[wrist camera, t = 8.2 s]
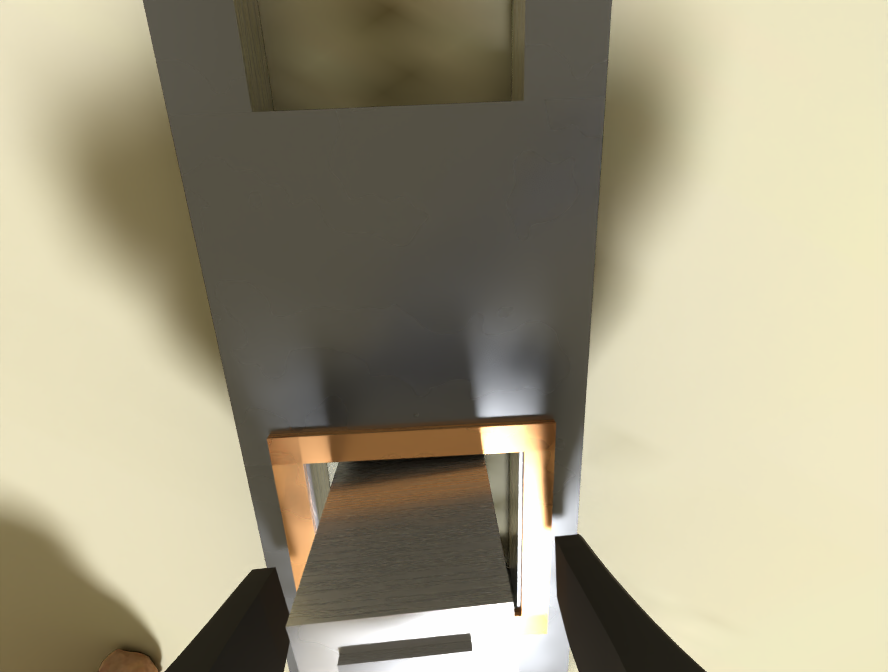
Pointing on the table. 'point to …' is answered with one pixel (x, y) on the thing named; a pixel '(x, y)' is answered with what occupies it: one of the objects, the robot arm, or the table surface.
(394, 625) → the grey rectangular block
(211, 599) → the table surface
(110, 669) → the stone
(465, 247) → the rail
